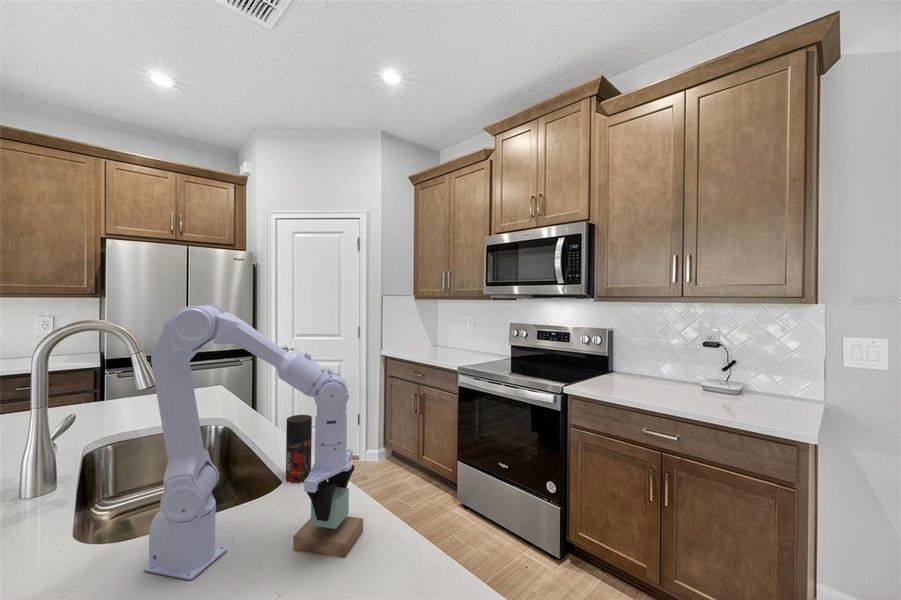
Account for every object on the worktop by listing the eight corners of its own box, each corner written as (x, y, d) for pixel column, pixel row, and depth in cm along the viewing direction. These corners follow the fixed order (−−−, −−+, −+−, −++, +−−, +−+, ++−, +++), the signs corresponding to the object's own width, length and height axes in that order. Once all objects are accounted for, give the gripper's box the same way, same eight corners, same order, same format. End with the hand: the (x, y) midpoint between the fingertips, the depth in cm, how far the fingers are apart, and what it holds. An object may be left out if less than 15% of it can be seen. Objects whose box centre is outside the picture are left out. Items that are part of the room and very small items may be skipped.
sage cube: (310, 525, 74) (311, 498, 74) (324, 510, 79) (325, 485, 79) (335, 528, 73) (336, 501, 73) (348, 514, 78) (348, 488, 78)
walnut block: (293, 552, 73) (293, 536, 73) (315, 527, 81) (316, 512, 81) (345, 560, 71) (345, 543, 71) (363, 533, 79) (363, 518, 79)
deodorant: (315, 474, 103) (316, 416, 102) (301, 485, 97) (302, 423, 97) (295, 471, 104) (296, 413, 104) (280, 481, 98) (281, 420, 98)
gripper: (331, 457, 67) (330, 537, 68) (366, 429, 82) (365, 495, 82) (293, 453, 69) (292, 531, 69) (334, 426, 83) (334, 491, 83)
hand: (329, 511), depth 76 cm, fingers closed on sage cube, 5 cm apart
